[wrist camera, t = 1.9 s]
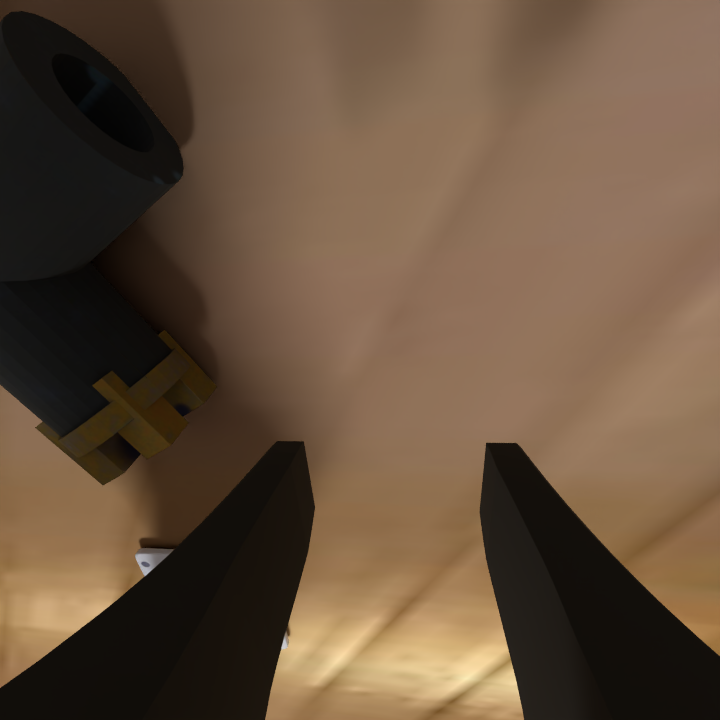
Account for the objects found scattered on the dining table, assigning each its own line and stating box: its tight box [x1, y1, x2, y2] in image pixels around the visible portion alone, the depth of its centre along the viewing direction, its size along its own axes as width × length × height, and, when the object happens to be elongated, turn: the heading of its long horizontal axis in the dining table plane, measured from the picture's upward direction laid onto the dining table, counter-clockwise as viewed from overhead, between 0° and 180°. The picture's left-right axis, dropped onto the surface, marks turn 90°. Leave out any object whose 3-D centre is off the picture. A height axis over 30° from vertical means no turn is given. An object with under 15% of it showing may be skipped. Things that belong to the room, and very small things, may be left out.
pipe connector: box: [0, 11, 217, 485], centre depth 15 cm, size 12×5×15 cm
